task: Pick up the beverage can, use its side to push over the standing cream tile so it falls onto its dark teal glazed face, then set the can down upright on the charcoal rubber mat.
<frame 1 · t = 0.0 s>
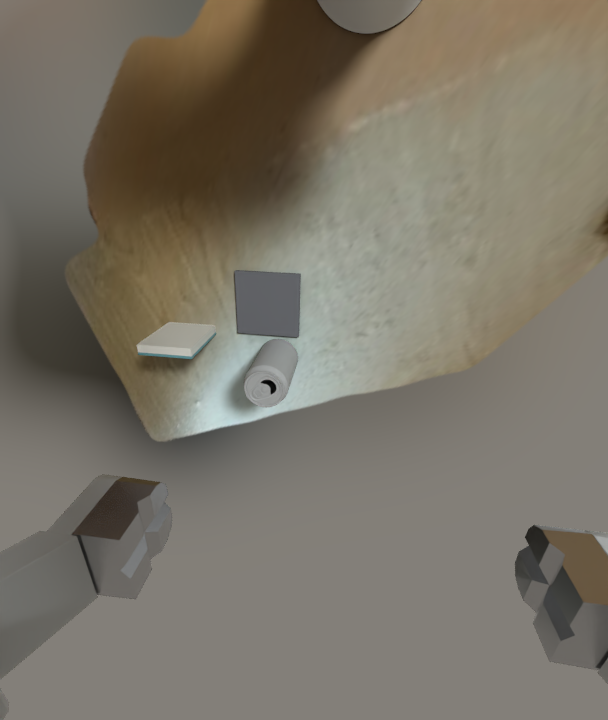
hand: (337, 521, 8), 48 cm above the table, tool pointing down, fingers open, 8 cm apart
tile: (192, 328, 60), on the table
beverage can: (279, 354, 60), on the table
mat: (268, 304, 56), on the table
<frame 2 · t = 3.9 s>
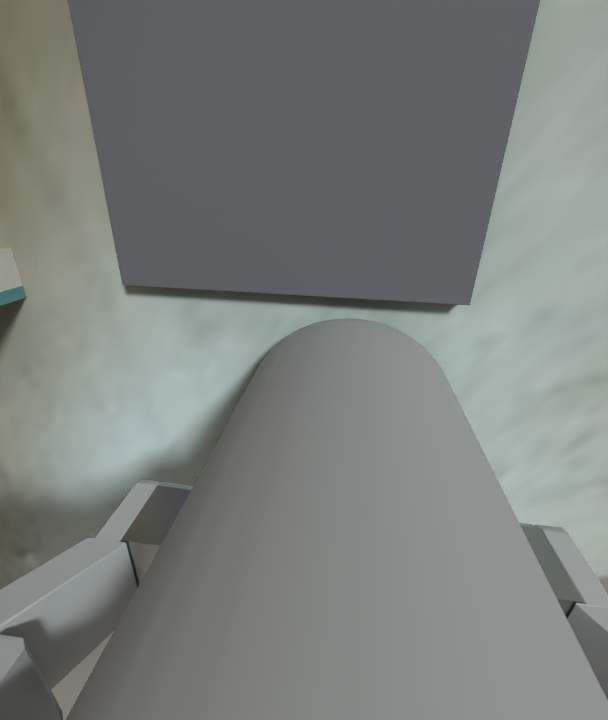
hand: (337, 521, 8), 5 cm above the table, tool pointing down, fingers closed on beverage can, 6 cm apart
beverage can: (346, 398, 12), on the table, touching gripper
mat: (293, 84, 9), on the table
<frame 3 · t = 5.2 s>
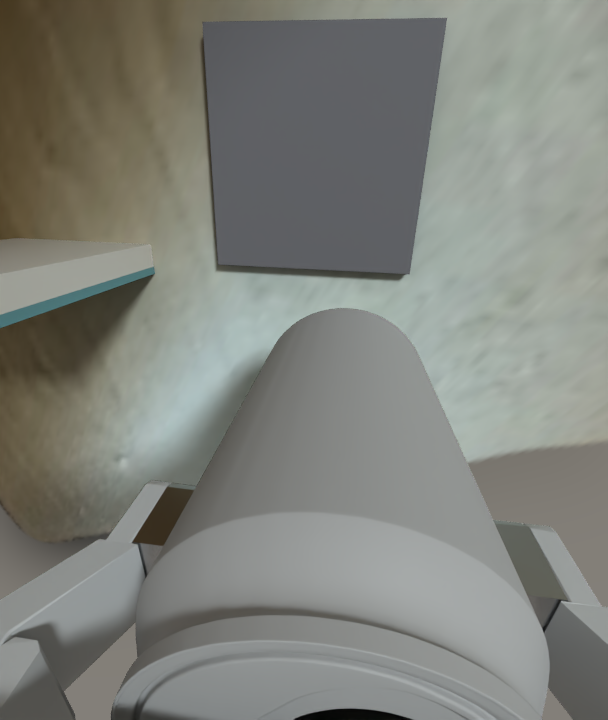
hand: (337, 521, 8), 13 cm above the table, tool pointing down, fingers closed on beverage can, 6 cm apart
tile: (86, 255, 20), on the table
beverage can: (342, 374, 16), point 5 cm above the table, touching gripper
mat: (316, 161, 17), on the table
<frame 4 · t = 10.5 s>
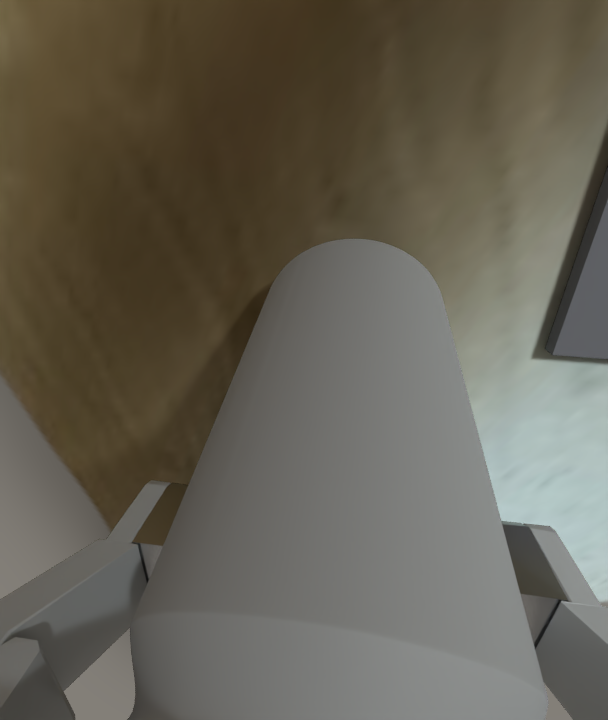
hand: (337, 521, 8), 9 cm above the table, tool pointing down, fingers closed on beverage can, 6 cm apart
beverage can: (352, 308, 14), point 1 cm above the table, touching gripper, tile
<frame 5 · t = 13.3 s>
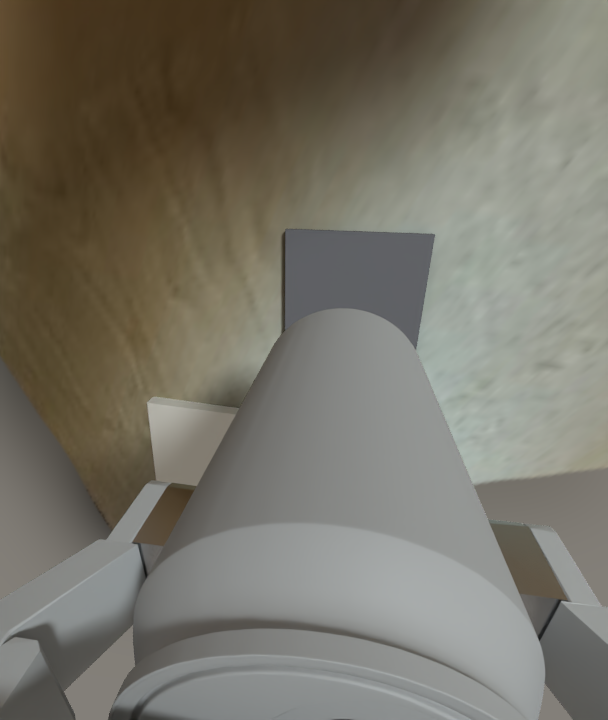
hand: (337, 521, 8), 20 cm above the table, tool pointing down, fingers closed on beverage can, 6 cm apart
tile: (194, 403, 32), on the table, tilted 90°
beverage can: (341, 373, 16), point 12 cm above the table, touching gripper
mat: (352, 302, 27), on the table
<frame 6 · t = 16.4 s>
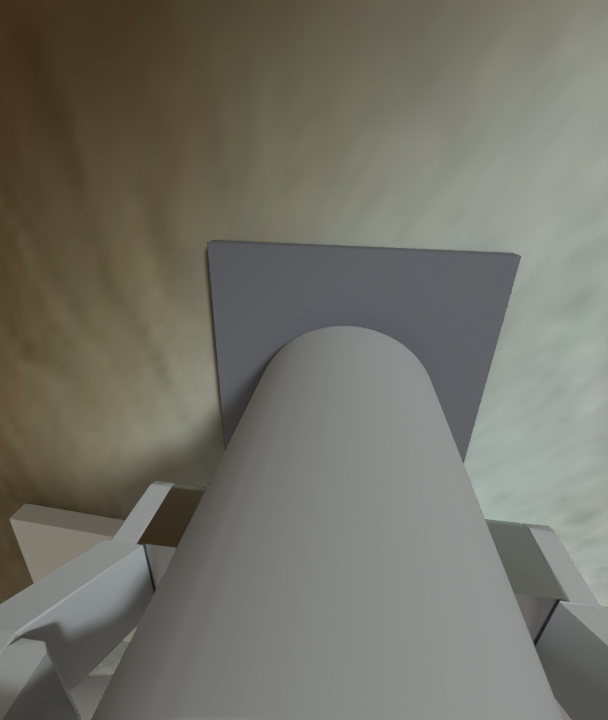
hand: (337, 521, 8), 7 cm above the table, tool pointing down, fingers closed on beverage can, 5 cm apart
tile: (89, 518, 19), on the table, tilted 90°
beverage can: (344, 393, 14), resting on mat, touching gripper
mat: (345, 377, 14), on the table
when the fingers open (7 cm above the table, at t = 16.8 s): beverage can stays where it is, resting on mat.
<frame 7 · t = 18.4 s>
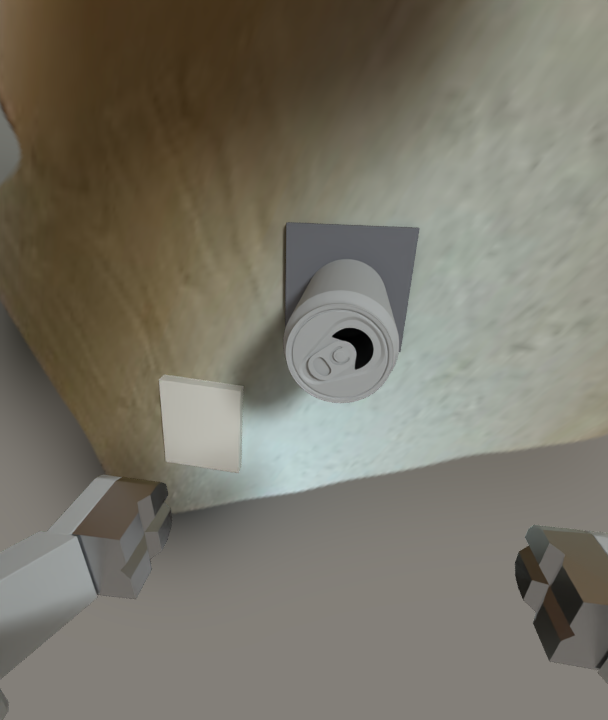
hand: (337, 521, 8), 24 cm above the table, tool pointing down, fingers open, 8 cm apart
tile: (202, 381, 35), on the table, tilted 90°
beverage can: (345, 296, 29), resting on mat
mat: (346, 289, 30), on the table
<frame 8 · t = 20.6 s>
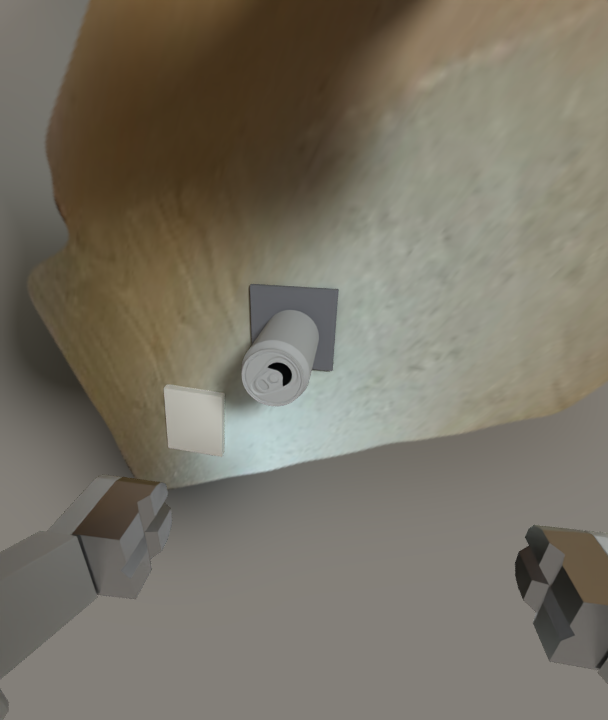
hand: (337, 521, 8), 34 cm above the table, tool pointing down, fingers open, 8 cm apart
tile: (195, 389, 48), on the table, tilted 90°
beverage can: (292, 333, 43), resting on mat
mat: (293, 327, 43), on the table
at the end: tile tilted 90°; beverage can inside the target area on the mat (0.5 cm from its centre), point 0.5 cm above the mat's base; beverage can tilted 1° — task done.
